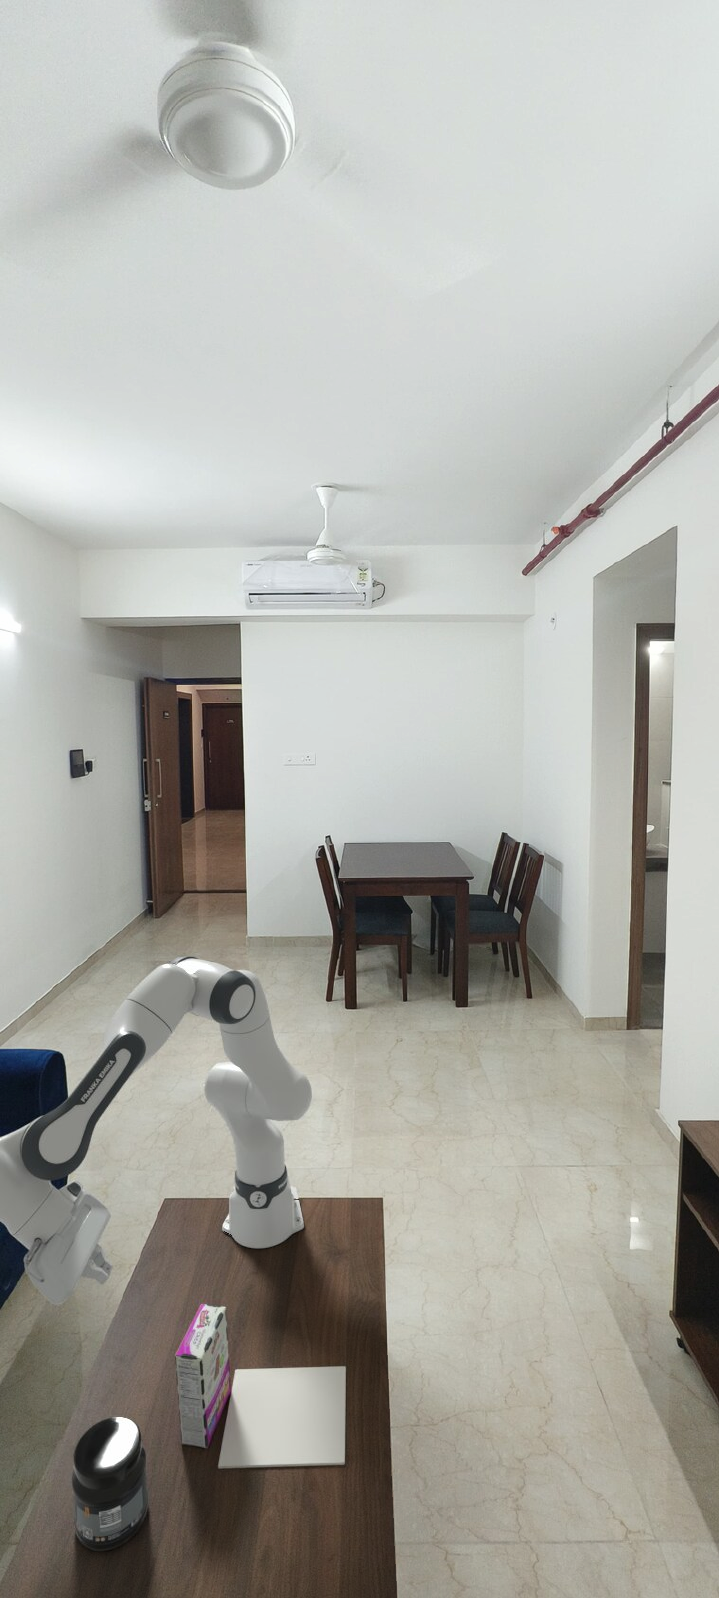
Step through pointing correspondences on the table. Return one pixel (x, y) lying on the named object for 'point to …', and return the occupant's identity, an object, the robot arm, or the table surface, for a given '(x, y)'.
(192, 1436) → the candy bar box
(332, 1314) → the table surface
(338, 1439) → the mat
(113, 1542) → the supplement container
